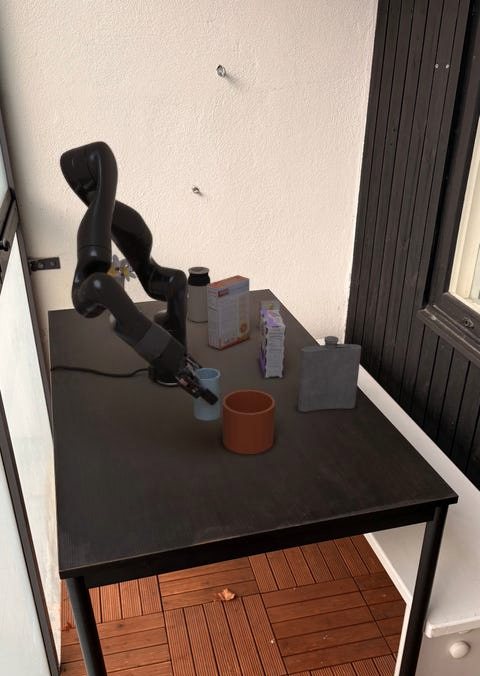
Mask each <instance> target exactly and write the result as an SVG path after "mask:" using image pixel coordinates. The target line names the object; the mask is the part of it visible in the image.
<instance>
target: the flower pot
mask: <svg viewBox="0 0 480 676" xmlns="http://www.w3.org/2000/svg"><path fill="white" fill-rule="evenodd" d="M221 407H222V444H223V446H224V447H225V448H226V449H228V450H229V451H231V452H234V453H236V454H241V455H255V454H260V453H264V452H266V451H268V450H269V449H270V448H272V446H273V445H274V440H275V422H276V420H275V419H276V400H275V398H274V397H273V396H272V395H271V394H269V393H267V392H265V391H261V390H256V389H240V390H235V391H232V392H229V393H227V395H225V396H224V397H223V398H222V399H221Z"/></svg>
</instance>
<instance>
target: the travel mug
mask: <svg viewBox="0 0 480 676" xmlns="http://www.w3.org/2000/svg"><path fill="white" fill-rule="evenodd" d="M187 272H188V274H189V275H188V276H187V280H188V319H189V321H191V322H194V323H195V322H196V323H205V322H208V312H207V284H210V283H211V277H210V275H209V272H210V268H209V267H206V266H191V267H189V268H188V269H187Z"/></svg>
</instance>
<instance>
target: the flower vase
mask: <svg viewBox="0 0 480 676" xmlns="http://www.w3.org/2000/svg"><path fill="white" fill-rule="evenodd" d="M107 274H110V275H111V276H113V277H114V278H115V279H116V280H117V281H118V282H119V283H120V284H121V285H122V287H123V288H124V290H125V291H126V288H125V282H126V281H127V283H128V282H131V279H137V276H136V274H135V272H134V271H133V269H132V268H131V266H130V265H129V263H128V262H127V260H126V259H125V258H122V259H119V257H118V255H117V254H112V265H111V268H110V270H109V271H108V273H107ZM113 320H114V317H113V315H112V314H111V313H110V315H109V317H108V322H109V324H110V326H111V325H112V322H113Z"/></svg>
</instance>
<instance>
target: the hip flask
mask: <svg viewBox="0 0 480 676" xmlns="http://www.w3.org/2000/svg"><path fill="white" fill-rule="evenodd" d="M323 341H324V344H321V345H319V344H318V345H311V346H303V347H302V348H301V349H300V350H301V351H300V368H299V384H298V399H297V400H298V401H297V410H298V411H299V412H301V413H306V412H312V411H322V410H334V409H337V410H339V409H343V410H344V409H345V410H347V409H349V410H351V409H354V408H356V401H357V400H356V399H357V393H358V383H359V374H360V373H359V372H360V363H361V356H362V354H361V353H362V346H361V345H360V344H357V343H356V344H353V343H352V344H351V343H339V337H337V336H334V335H327V336H324V340H323Z"/></svg>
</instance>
